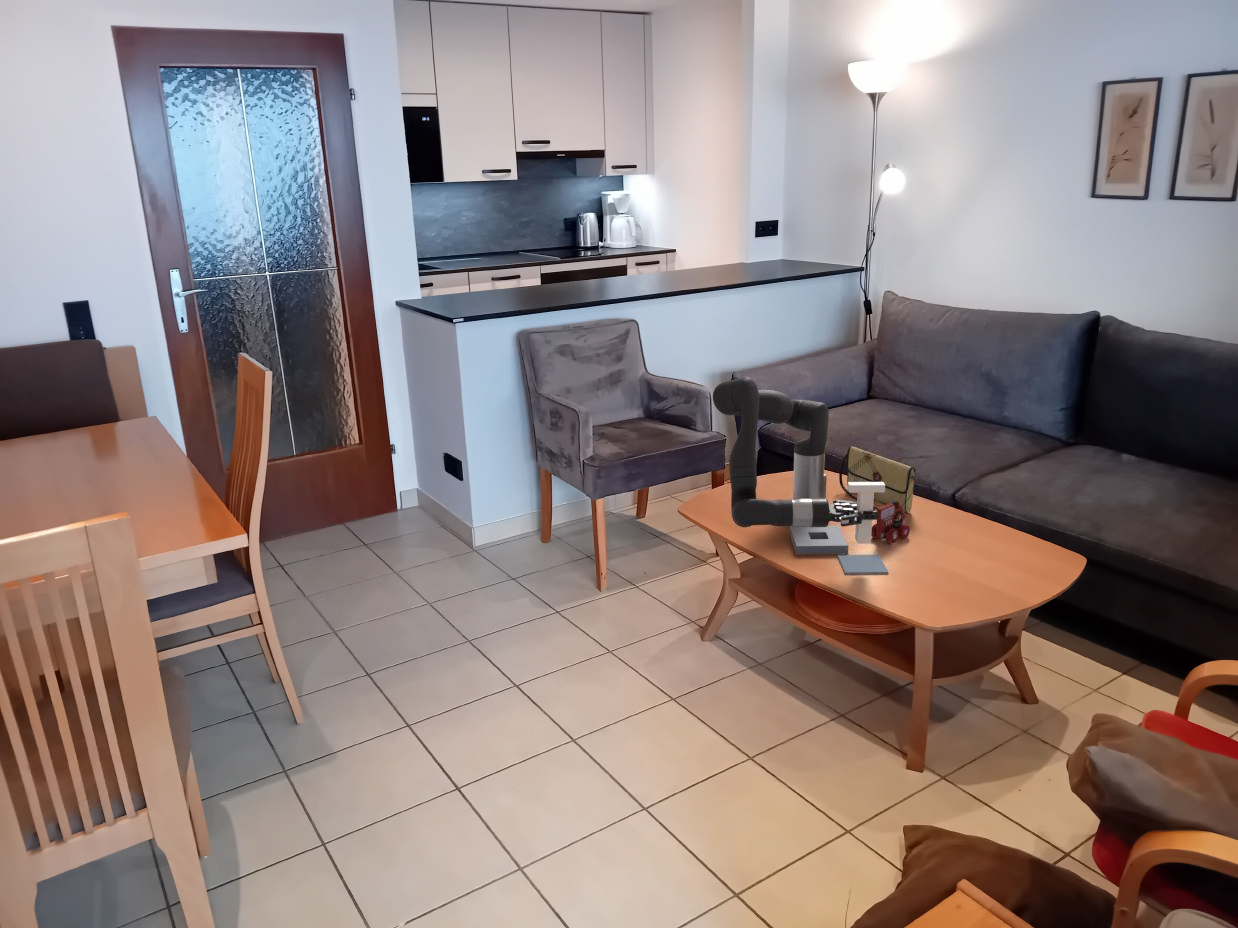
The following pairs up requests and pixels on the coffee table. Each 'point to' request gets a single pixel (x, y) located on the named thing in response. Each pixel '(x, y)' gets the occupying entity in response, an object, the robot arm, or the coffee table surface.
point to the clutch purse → (880, 476)
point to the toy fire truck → (890, 523)
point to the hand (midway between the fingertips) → (875, 512)
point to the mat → (862, 564)
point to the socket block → (818, 540)
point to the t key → (865, 506)
